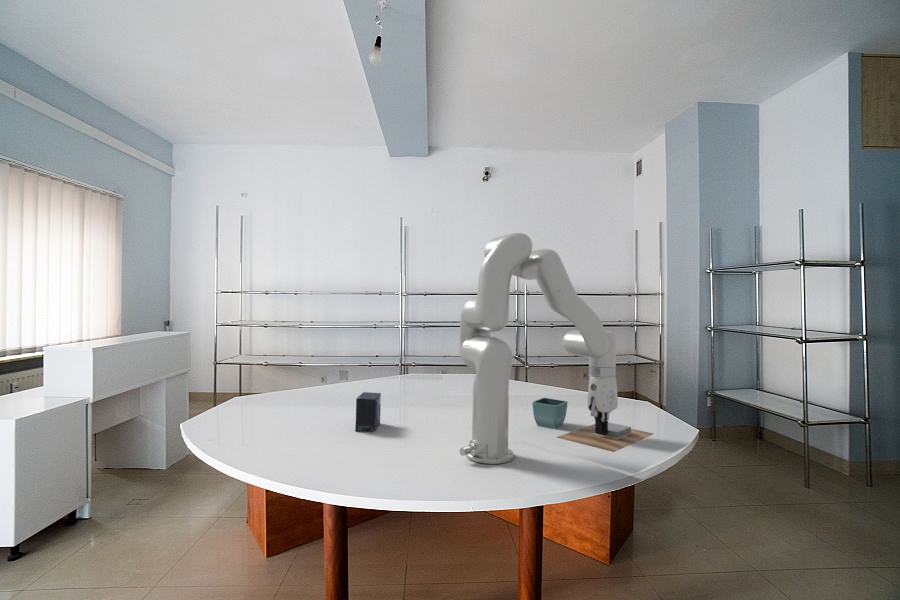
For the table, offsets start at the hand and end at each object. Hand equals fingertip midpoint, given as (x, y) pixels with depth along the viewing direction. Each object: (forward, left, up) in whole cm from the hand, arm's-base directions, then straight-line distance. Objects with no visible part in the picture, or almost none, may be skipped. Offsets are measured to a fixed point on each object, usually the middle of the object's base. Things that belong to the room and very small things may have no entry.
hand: (601, 433), depth 139 cm
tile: (+2, 0, 0) cm, 2 cm away
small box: (-43, +58, -3) cm, 72 cm away
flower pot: (0, +18, -3) cm, 18 cm away
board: (+3, 0, -2) cm, 4 cm away
